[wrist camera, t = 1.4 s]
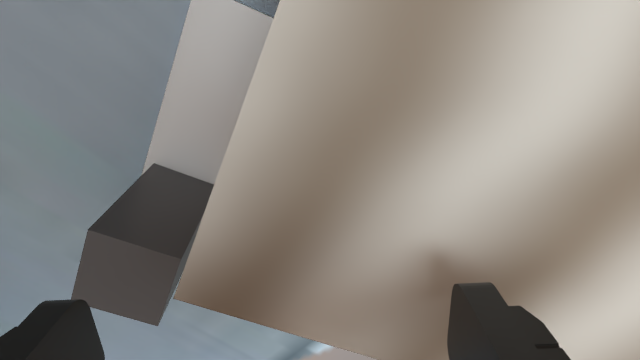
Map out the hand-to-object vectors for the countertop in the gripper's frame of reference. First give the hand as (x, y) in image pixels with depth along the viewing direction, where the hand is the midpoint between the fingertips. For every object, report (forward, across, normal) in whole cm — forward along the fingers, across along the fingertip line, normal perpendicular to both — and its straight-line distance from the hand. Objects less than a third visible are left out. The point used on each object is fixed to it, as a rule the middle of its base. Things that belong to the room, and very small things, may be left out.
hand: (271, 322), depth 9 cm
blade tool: (+17, +6, 0) cm, 18 cm away
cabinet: (+17, -7, -2) cm, 19 cm away
